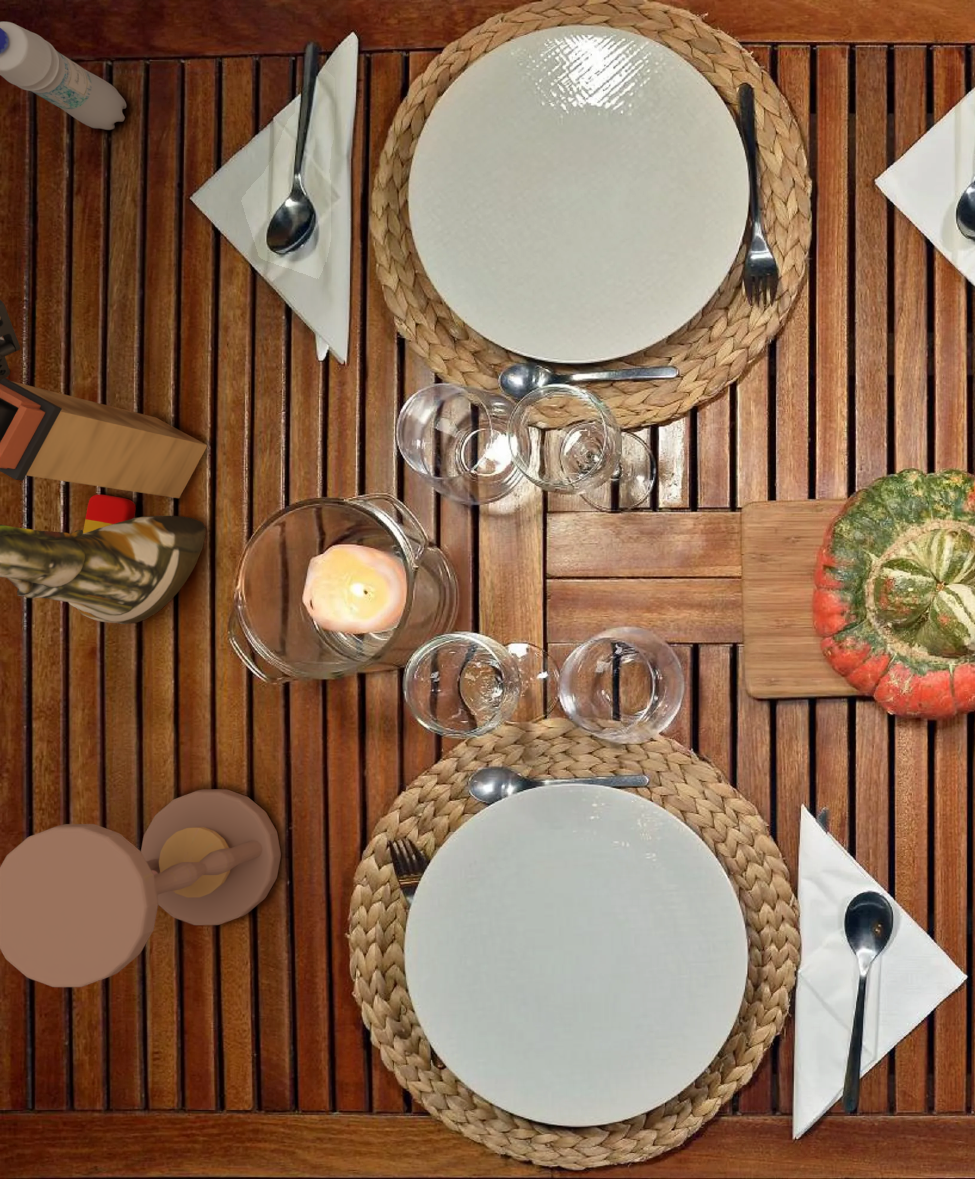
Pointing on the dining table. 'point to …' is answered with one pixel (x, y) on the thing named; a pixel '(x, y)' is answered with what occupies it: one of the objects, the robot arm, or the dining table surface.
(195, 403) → the dining table surface
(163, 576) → the statue
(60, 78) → the bottle
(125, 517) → the popsicle
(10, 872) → the hourglass
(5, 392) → the base pad
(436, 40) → the dining table surface
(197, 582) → the dining table surface
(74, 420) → the stand
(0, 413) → the post
